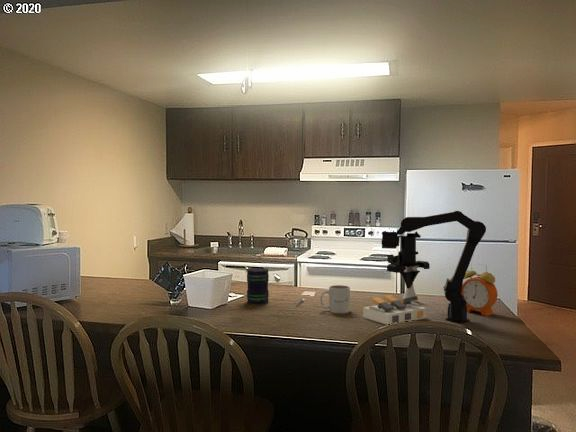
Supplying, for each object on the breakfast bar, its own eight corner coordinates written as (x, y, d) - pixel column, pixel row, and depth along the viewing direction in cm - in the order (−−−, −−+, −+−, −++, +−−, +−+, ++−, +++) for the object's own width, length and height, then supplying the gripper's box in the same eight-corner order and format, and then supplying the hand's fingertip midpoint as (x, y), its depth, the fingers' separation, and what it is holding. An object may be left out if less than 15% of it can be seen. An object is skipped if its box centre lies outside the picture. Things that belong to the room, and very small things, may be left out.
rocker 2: (404, 310, 184) (406, 305, 184) (398, 311, 182) (399, 306, 182) (389, 300, 191) (390, 294, 191) (382, 301, 190) (383, 295, 189)
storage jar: (243, 304, 211) (243, 270, 210) (250, 299, 220) (250, 267, 220) (265, 305, 208) (265, 271, 208) (271, 300, 218) (271, 268, 217)
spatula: (315, 294, 234) (315, 292, 234) (303, 308, 205) (303, 304, 205) (303, 294, 235) (303, 291, 235) (290, 307, 207) (290, 304, 207)
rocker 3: (418, 302, 187) (417, 296, 187) (412, 303, 185) (410, 297, 186) (402, 305, 194) (401, 300, 195) (396, 306, 192) (395, 301, 193)
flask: (418, 303, 212) (418, 281, 212) (402, 303, 214) (402, 281, 213) (417, 300, 219) (417, 278, 219) (401, 299, 221) (401, 278, 220)
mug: (349, 308, 202) (349, 285, 202) (349, 313, 194) (349, 289, 193) (320, 307, 204) (321, 284, 203) (319, 312, 195) (319, 288, 195)
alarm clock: (459, 310, 198) (460, 263, 198) (467, 308, 202) (467, 262, 202) (490, 316, 188) (490, 266, 188) (497, 314, 192) (498, 265, 191)
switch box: (426, 318, 186) (426, 305, 186) (388, 325, 175) (389, 312, 175) (399, 311, 198) (399, 299, 198) (363, 317, 187) (363, 304, 187)
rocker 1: (392, 312, 181) (394, 307, 180) (386, 313, 179) (387, 308, 178) (377, 302, 188) (378, 296, 187) (370, 303, 186) (371, 297, 186)
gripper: (408, 246, 198) (409, 283, 199) (376, 248, 188) (376, 288, 188) (430, 248, 189) (430, 286, 190) (397, 251, 179) (397, 292, 179)
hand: (408, 288), depth 187 cm, fingers closed
